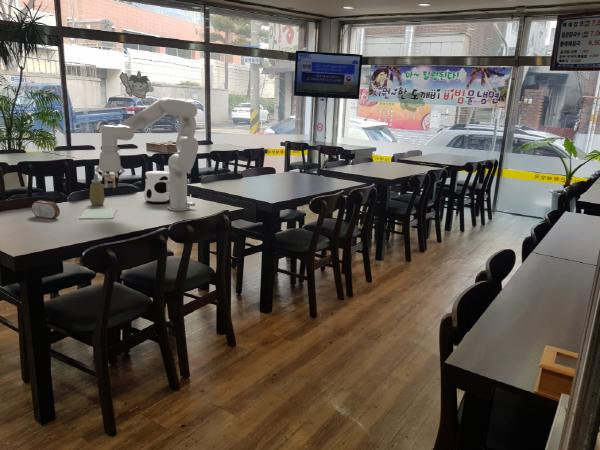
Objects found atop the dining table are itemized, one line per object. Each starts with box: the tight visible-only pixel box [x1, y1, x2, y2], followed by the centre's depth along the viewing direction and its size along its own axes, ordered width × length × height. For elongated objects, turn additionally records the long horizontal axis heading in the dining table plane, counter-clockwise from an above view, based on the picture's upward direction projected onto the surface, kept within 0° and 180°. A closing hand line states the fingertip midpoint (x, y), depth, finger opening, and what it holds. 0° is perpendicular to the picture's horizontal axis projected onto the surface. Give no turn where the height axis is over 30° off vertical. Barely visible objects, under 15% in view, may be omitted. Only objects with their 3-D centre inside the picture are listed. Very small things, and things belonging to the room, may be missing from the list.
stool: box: [104, 173, 117, 189], centre depth 253 cm, size 5×5×6 cm
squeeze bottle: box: [89, 173, 106, 206], centre depth 276 cm, size 8×8×18 cm
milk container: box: [143, 170, 170, 204], centre depth 293 cm, size 17×17×18 cm
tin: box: [31, 200, 61, 220], centre depth 242 cm, size 15×3×8 cm, turn 74°
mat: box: [78, 208, 118, 220], centre depth 256 cm, size 16×22×1 cm
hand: (110, 184), depth 253 cm, fingers closed on stool, 5 cm apart
